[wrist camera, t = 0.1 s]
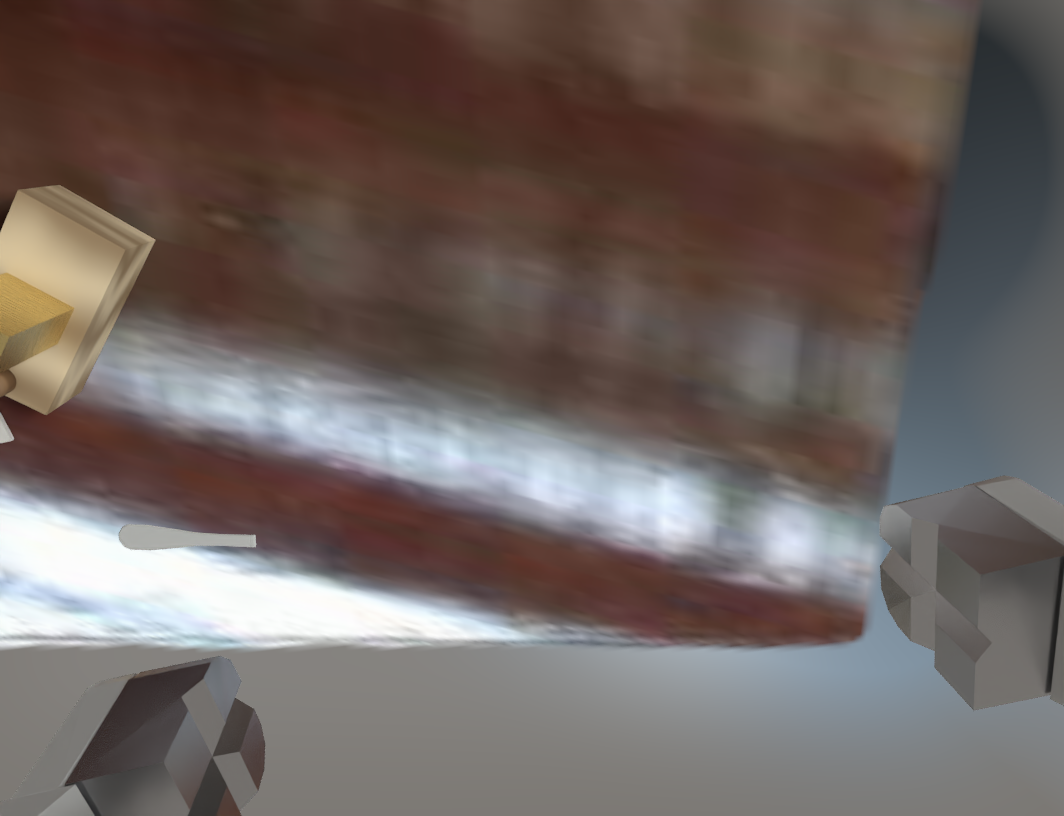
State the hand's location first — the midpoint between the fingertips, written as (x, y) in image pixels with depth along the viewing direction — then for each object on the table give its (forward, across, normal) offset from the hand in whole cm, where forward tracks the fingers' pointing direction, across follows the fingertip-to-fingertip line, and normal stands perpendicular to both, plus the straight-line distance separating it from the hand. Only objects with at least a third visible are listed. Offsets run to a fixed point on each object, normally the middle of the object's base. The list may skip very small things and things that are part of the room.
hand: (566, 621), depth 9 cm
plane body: (+48, +31, -1) cm, 57 cm away
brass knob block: (+43, +31, -1) cm, 53 cm away
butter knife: (+48, +24, +23) cm, 59 cm away
